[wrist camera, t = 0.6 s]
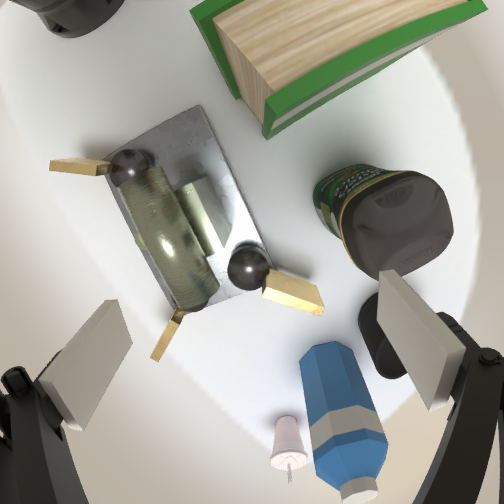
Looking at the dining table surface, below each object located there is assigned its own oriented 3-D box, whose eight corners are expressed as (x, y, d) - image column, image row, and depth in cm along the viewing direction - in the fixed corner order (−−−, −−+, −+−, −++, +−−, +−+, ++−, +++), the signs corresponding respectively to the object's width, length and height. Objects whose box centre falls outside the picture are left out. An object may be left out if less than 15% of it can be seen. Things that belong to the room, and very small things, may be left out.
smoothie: (269, 432, 52) (269, 490, 38) (269, 411, 50) (270, 474, 36) (301, 430, 51) (308, 488, 38) (304, 410, 49) (312, 471, 36)
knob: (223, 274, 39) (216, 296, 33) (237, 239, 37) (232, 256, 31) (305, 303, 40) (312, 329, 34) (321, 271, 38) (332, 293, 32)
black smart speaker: (369, 280, 41) (395, 314, 32) (419, 293, 42) (450, 325, 32) (345, 335, 44) (362, 376, 35) (394, 343, 44) (417, 381, 35)
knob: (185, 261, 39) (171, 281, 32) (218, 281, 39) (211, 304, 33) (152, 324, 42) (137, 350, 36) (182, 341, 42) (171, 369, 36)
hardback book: (266, 140, 36) (276, 114, 13) (232, 94, 34) (188, 10, 11) (375, 73, 32) (488, 9, 9) (342, 30, 31) (418, -71, 8)
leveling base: (105, 161, 37) (34, 170, 22) (201, 107, 35) (164, 79, 20) (181, 310, 43) (149, 378, 29) (277, 273, 41) (285, 337, 26)
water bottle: (343, 386, 47) (378, 509, 24) (292, 382, 47) (305, 516, 23) (362, 343, 44) (417, 472, 21) (306, 337, 44) (335, 482, 20)
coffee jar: (368, 155, 36) (447, 160, 18) (389, 209, 38) (470, 252, 20) (302, 185, 37) (338, 212, 20) (327, 239, 39) (373, 305, 22)
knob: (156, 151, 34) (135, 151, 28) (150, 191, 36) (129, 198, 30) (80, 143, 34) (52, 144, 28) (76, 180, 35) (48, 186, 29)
